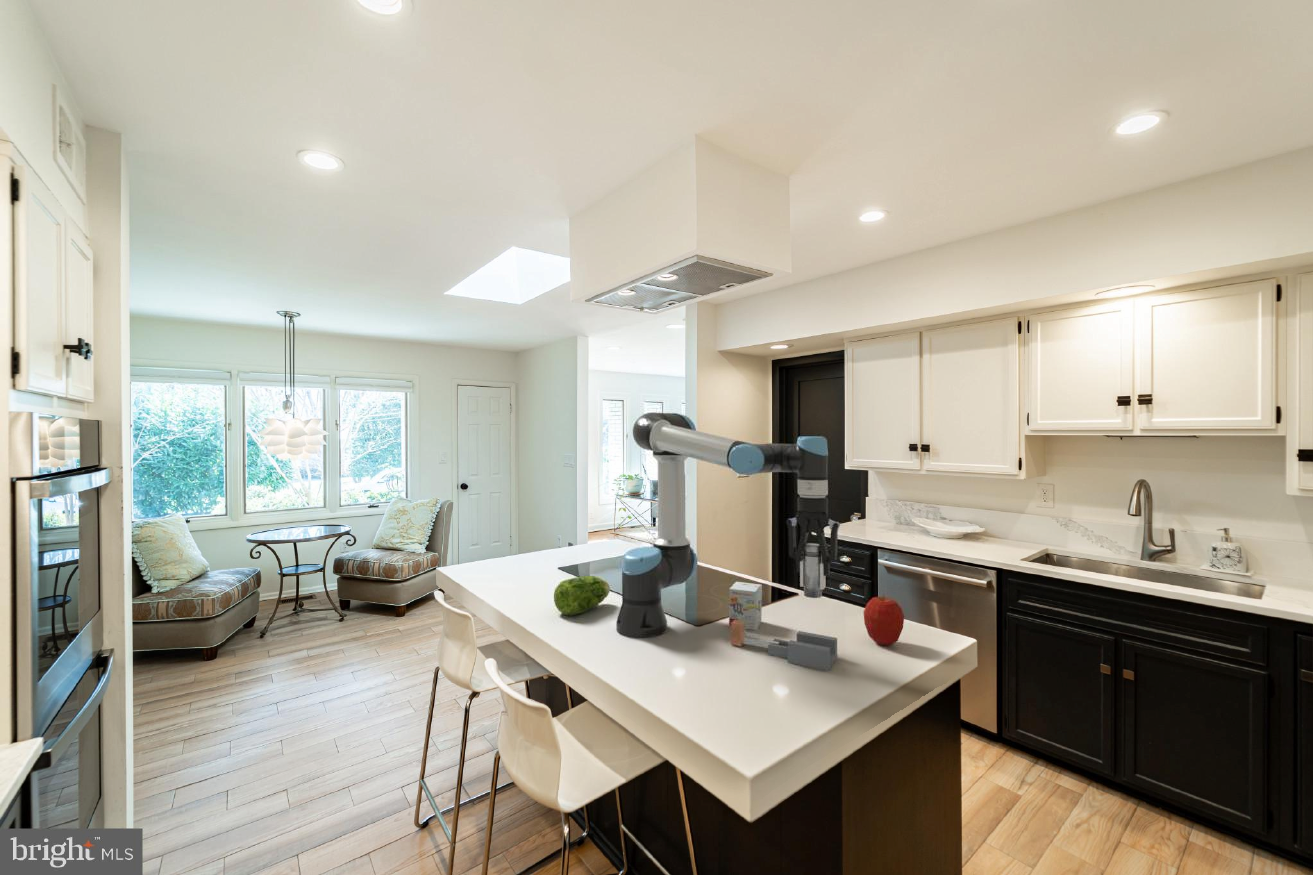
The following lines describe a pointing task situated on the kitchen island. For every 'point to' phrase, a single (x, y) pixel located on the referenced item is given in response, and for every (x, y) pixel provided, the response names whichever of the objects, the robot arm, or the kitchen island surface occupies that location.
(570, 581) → the green rounded piece
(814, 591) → the grey cylinder
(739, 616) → the ink box
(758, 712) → the kitchen island surface
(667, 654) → the kitchen island surface
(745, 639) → the pin
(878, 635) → the apple
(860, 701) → the kitchen island surface
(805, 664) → the mount
